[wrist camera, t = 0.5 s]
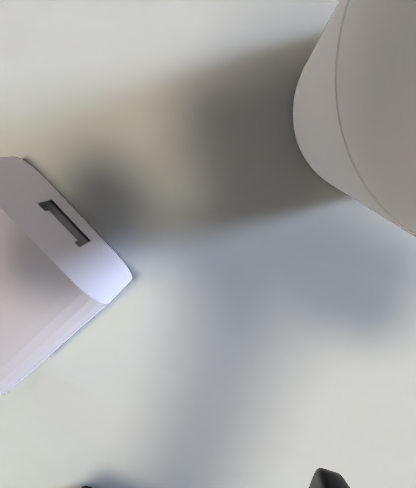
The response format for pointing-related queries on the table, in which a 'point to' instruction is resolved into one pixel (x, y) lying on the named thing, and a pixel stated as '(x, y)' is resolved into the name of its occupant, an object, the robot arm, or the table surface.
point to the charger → (46, 271)
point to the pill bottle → (364, 106)
